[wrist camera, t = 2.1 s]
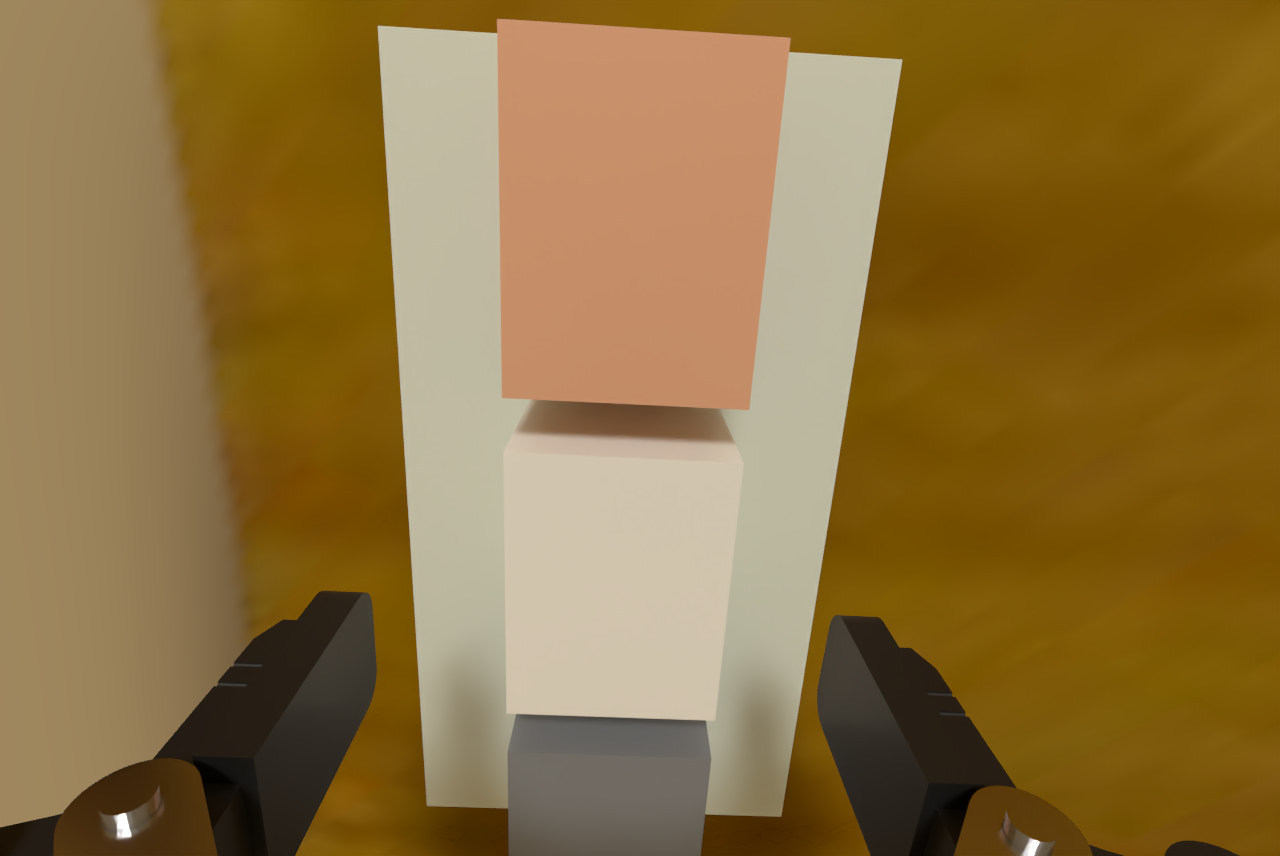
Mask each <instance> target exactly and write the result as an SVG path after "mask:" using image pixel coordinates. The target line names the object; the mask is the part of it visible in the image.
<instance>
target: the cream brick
mask: <svg viewBox="0 0 1280 856" xmlns="http://www.w3.org/2000/svg"><path fill="white" fill-rule="evenodd" d="M743 467H744V462H743V460H742V458H741V455H740V453H739V451H738V449H737V446H736V444H735V442H734V440H733V437H732V435H731V433H730V430H729V428H728V426H727V424H726V421H725V419H724V417H723V414H722V412H721V410H720V409H718V408H697V407H676V406H655V405H635V404H614V403H593V402H573V401H552V400H530V402H529V404H528V405H527V407H526V409H525V411H524V413H523V415H522V417H521V419H520V421H519V423H518V425H517V427H516V429H515V430H514V432H513V434H512V436H511V438H510V440H509V442H508V444H507V446H506V448H505V450H504V452H503V473H504V554H505V635H506V714H533V715H562V716H591V717H620V718H649V719H678V720H708V721H715V717H716V708H717V699H718V690H719V681H720V673H721V664H722V655H723V646H724V637H725V628H726V619H727V610H728V601H729V592H730V583H731V574H732V565H733V556H734V547H735V538H736V529H737V520H738V511H739V502H740V493H741V484H742V475H743Z"/></svg>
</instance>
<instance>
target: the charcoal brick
mask: <svg viewBox="0 0 1280 856" xmlns="http://www.w3.org/2000/svg"><path fill="white" fill-rule="evenodd" d="M507 754H508V837H509V856H701V847H702V838H703V829H704V820H705V811H706V802H707V794H708V785H709V776H710V767H711V753H710V746H709V739H708V732H707V725H706V720H678V719H649V718H620V717H591V716H562V715H533V714H516V717H515V721H514V726H513V730H512V734H511V739H510V743H509V748H508V752H507Z"/></svg>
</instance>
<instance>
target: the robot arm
mask: <svg viewBox="0 0 1280 856" xmlns="http://www.w3.org/2000/svg"><path fill="white" fill-rule="evenodd" d="M376 671H377V669H376V653H375V638H374V624H373V610H372V601H371V598H370V595H369V594H368V593H359V592H337V591H321V592H319V593H318V594H317V595H316V596H315V597H314V599H313V600H312V601H311V603H310V604H309V605H308V607H307V608H306V609H305V610H304V612H303V613H302V614H301V616H300V617H299V618H298V619H297V620H282V621H280V622H279V623H277V624H276V625H274V626H273V627H271V628H270V629H268V630H267V631H265V632H264V633H262V634H260V635H259V636H257V637H256V638H254V639H253V640H252V641H251V643H250V644H249V645H248V646H247V647H246V649H245V650H244V651H243V652H242V653H241V655H240V656H239V657H238V658H237V659H236V661H235V662H234V666H233V667H230V668H229V669H228V670H227V671H226V673H225V674H224V675H223V676H222V677H221V679H220V680H219V681H218V685H217V687H213V688H212V689H211V690H210V692H209V693H208V694H207V695H206V696H205V698H204V699H203V700H202V701H201V702H200V704H199V705H198V706H197V707H196V708H195V710H194V711H193V712H192V713H191V714H190V715H189V717H188V718H187V719H186V720H185V722H184V723H183V724H182V725H181V726H180V727H179V729H178V730H177V731H176V732H175V733H174V735H173V736H172V737H171V738H170V740H168V742H167V743H166V744H165V745H164V746H163V748H162V749H161V750H160V751H159V752H158V754H157V755H156V756H155V757H154V758H153V759H152V760H147V761H143V762H139V763H136V764H132V765H129V766H127V767H124V768H122V769H119V770H117V771H115V772H113V773H111V774H109V775H107V776H105V777H103V778H102V779H100V780H99V781H97V782H95V783H94V784H92V785H91V786H90V787H88V788H87V789H86V790H84V791H83V792H82V793H81V794H80V795H79V796H77V797H76V798H75V799H74V800H73V801H72V802H71V803H70V805H69V806H68V807H67V808H66V809H65V811H64V812H63V814H59V815H55V816H51V817H47V818H42V819H37V820H33V821H28V822H24V823H19V824H14V825H10V826H6V827H1V828H0V856H295V854H296V852H297V850H298V848H299V846H300V844H301V842H302V840H303V838H304V836H305V834H306V832H307V830H308V828H309V826H310V824H311V822H312V820H313V818H314V816H315V814H316V812H317V810H318V808H319V806H320V804H321V802H322V800H323V798H324V796H325V794H326V792H327V790H328V788H329V786H330V784H331V782H332V780H333V778H334V776H335V774H336V772H337V770H338V768H339V766H340V764H341V762H342V760H343V758H344V756H345V754H346V752H347V750H348V748H349V746H350V744H351V742H352V740H353V738H354V736H355V734H356V732H357V730H358V728H359V726H360V724H361V722H362V720H363V718H364V716H365V714H366V712H367V710H368V708H369V705H370V703H371V700H372V697H373V693H374V688H375V682H376ZM817 704H818V713H819V719H820V723H821V726H822V729H823V731H824V734H825V737H826V739H827V742H828V745H829V747H830V750H831V752H832V755H833V758H834V760H835V763H836V766H837V768H838V771H839V773H840V776H841V779H842V781H843V784H844V787H845V789H846V792H847V794H848V797H849V800H850V802H851V805H852V808H853V810H854V813H855V815H856V818H857V821H858V823H859V826H860V829H861V831H862V834H863V836H864V839H865V842H866V844H867V847H868V850H869V852H870V855H871V856H1122V855H1119V854H1116V853H1112V852H1109V851H1106V850H1103V849H1099V848H1097V847H1094V846H1091V845H1089V844H1088V842H1087V840H1086V839H1085V837H1084V836H1083V834H1082V833H1081V831H1080V830H1079V829H1078V828H1077V827H1076V825H1075V824H1074V823H1073V822H1072V821H1071V820H1070V819H1069V818H1068V817H1067V816H1065V815H1064V814H1063V813H1062V812H1061V811H1059V810H1058V809H1057V808H1055V807H1054V806H1052V805H1051V804H1049V803H1048V802H1046V801H1045V800H1043V799H1041V798H1039V797H1037V796H1035V795H1033V794H1031V793H1028V792H1026V791H1023V790H1020V789H1017V788H1016V787H1015V785H1014V784H1013V782H1012V781H1011V779H1010V778H1009V776H1008V775H1007V773H1006V772H1005V770H1004V769H1003V767H1002V766H1001V764H1000V763H999V761H998V760H997V758H996V757H995V755H994V754H993V753H992V751H991V750H990V748H989V747H988V745H987V744H986V742H985V741H984V739H983V738H982V736H981V735H980V733H979V732H978V730H977V729H976V727H975V726H974V724H973V723H972V721H971V720H970V718H969V717H966V716H965V711H964V709H963V708H962V706H961V705H960V703H959V702H958V700H957V699H956V697H952V692H951V690H950V689H949V687H948V686H947V684H946V683H945V681H944V680H943V678H942V677H941V675H940V674H939V672H938V671H937V669H936V668H935V667H933V666H932V665H931V664H930V663H928V662H927V661H926V660H925V659H924V658H922V657H921V656H920V655H919V654H917V653H916V652H915V651H914V650H913V649H911V648H899V646H898V645H897V643H896V642H895V640H894V638H893V637H892V635H891V634H890V632H889V630H888V629H887V627H886V626H885V624H884V622H883V621H882V620H881V619H880V618H878V617H862V616H839V615H836V616H834V617H833V619H832V621H831V624H830V627H829V633H828V638H827V643H826V648H825V653H824V658H823V664H822V669H821V674H820V679H819V684H818V693H817ZM1164 856H1239V855H1237V854H1234V853H1232V852H1230V851H1228V850H1226V849H1223V848H1220V847H1218V846H1215V845H1211V844H1208V843H1204V842H1198V841H1180V842H1176V843H1174V844H1172V845H1171V846H1170V847H1169V848H1168V849H1167V851H1166V853H1165V855H1164Z"/></svg>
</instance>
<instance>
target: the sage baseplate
mask: <svg viewBox="0 0 1280 856" xmlns="http://www.w3.org/2000/svg"><path fill="white" fill-rule="evenodd" d="M378 37H379V53H380V69H381V85H382V101H383V117H384V133H385V148H386V164H387V180H388V196H389V212H390V228H391V244H392V260H393V276H394V292H395V307H396V323H397V339H398V355H399V371H400V387H401V403H402V419H403V435H404V450H405V466H406V482H407V498H408V514H409V530H410V546H411V562H412V578H413V594H414V609H415V625H416V641H417V657H418V673H419V689H420V705H421V721H422V737H423V752H424V768H425V784H426V800H427V806H443V807H476V808H508V754H507V752H508V748H509V743H510V739H511V734H512V730H513V726H514V721H515V717H516V714H506V635H505V554H504V473H503V452H504V450H505V448H506V446H507V444H508V442H509V440H510V438H511V436H512V434H513V432H514V430H515V429H516V427H517V425H518V423H519V421H520V419H521V417H522V415H523V413H524V411H525V409H526V407H527V405H528V404H529V402H530V400H531V399H510V398H502V364H501V285H500V206H499V127H498V48H497V33H482V32H466V31H451V30H435V29H419V28H404V27H388V26H378ZM901 65H902V60H901V59H886V58H870V57H855V56H839V55H824V54H808V53H792V52H789V57H788V66H787V75H786V84H785V93H784V102H783V111H782V120H781V129H780V138H779V147H778V156H777V165H776V174H775V183H774V192H773V201H772V210H771V219H770V227H769V236H768V245H767V254H766V263H765V272H764V281H763V290H762V299H761V308H760V317H759V326H758V335H757V344H756V353H755V362H754V371H753V380H752V389H751V398H750V407H749V410H738V409H720V410H721V412H722V414H723V417H724V419H725V421H726V424H727V426H728V428H729V430H730V433H731V435H732V437H733V440H734V442H735V444H736V446H737V449H738V451H739V453H740V455H741V458H742V460H743V462H744V467H743V475H742V484H741V493H740V502H739V511H738V520H737V529H736V538H735V547H734V556H733V565H732V574H731V583H730V592H729V601H728V610H727V619H726V628H725V637H724V646H723V655H722V664H721V673H720V681H719V690H718V699H717V708H716V717H715V721H708V720H706V725H707V732H708V739H709V746H710V753H711V767H710V776H709V785H708V794H707V802H706V811H705V814H708V815H741V816H774V817H781V815H782V809H783V803H784V796H785V790H786V784H787V778H788V771H789V765H790V759H791V753H792V746H793V740H794V734H795V728H796V721H797V715H798V709H799V703H800V696H801V690H802V684H803V678H804V671H805V665H806V659H807V653H808V646H809V640H810V634H811V628H812V621H813V615H814V609H815V603H816V596H817V590H818V584H819V578H820V571H821V565H822V559H823V553H824V546H825V540H826V534H827V528H828V521H829V515H830V509H831V503H832V496H833V490H834V484H835V478H836V471H837V465H838V459H839V453H840V446H841V440H842V434H843V428H844V421H845V415H846V409H847V403H848V396H849V390H850V384H851V378H852V371H853V365H854V359H855V353H856V346H857V340H858V334H859V328H860V322H861V315H862V309H863V303H864V297H865V290H866V284H867V278H868V272H869V265H870V259H871V253H872V247H873V240H874V234H875V228H876V222H877V215H878V209H879V203H880V197H881V190H882V184H883V178H884V172H885V165H886V159H887V153H888V147H889V140H890V134H891V128H892V122H893V115H894V109H895V103H896V97H897V90H898V84H899V78H900V72H901Z"/></svg>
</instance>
